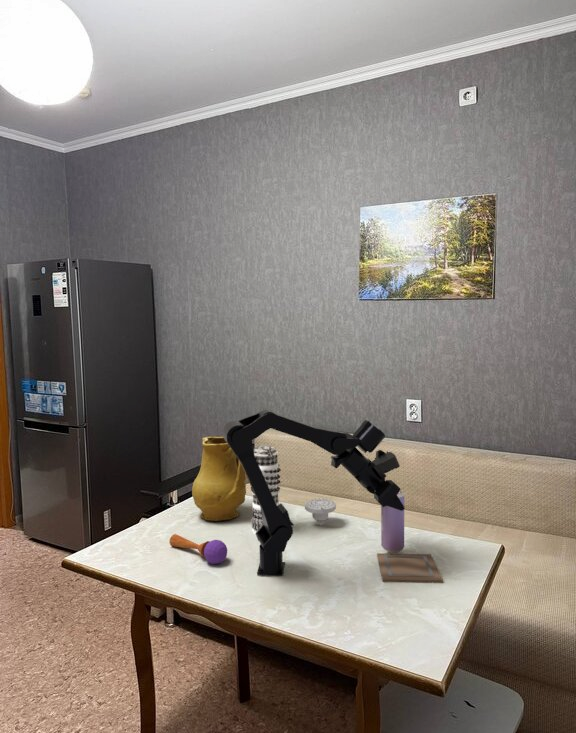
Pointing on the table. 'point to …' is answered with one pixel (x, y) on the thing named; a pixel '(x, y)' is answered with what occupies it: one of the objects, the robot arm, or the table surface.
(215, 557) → the purple ball maraca
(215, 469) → the pitcher
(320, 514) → the showerhead
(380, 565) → the plate
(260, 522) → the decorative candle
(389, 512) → the beverage can
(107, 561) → the table surface
